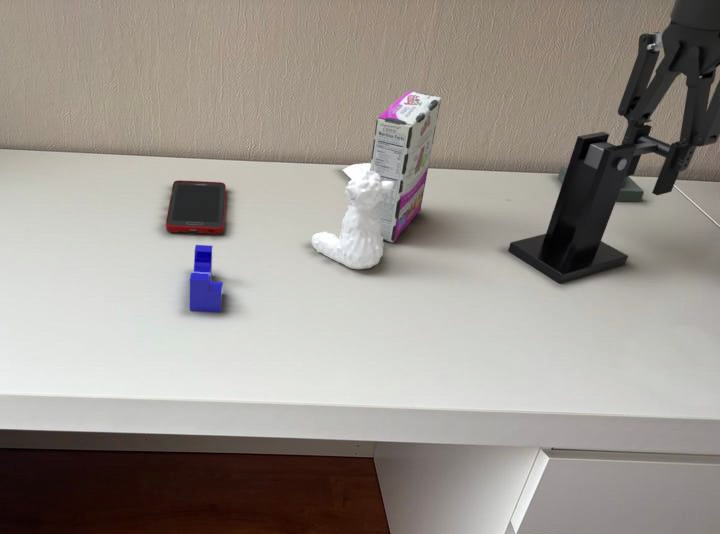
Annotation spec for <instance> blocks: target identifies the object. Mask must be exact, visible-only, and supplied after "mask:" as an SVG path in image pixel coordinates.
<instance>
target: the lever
mask: <svg viewBox="0 0 720 534" xmlns="http://www.w3.org/2000/svg"><path fill="white" fill-rule="evenodd" d="M635 145H636V146H637V147H636V150H635V152H634V155H633V156H636V155H641V156H642V155H647V154H653V153H654V154H656V155H659V156H660V157H663V158H665V159H666V157H667V154H668V152H669V149H670V147H671V144H670V143H667V142H665V141H663V140H660V139H658V138H656V137H653V136H650V135H649V136H648V135H645V134H641V135H639V136H638V138H637V139H636V144H635ZM613 146H616V145H615V144H613V143H611V142H609V141H607V142H601V143H594V144H590V147H589V150H588V152H587V155H586V158H585V161H584V163H585V164H587V165H589V166H591V167H593V168H595V169H597V168H598V165H599V163H600V160H601V157H602V154H603V151H604V148H608V147H613Z"/></svg>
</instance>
